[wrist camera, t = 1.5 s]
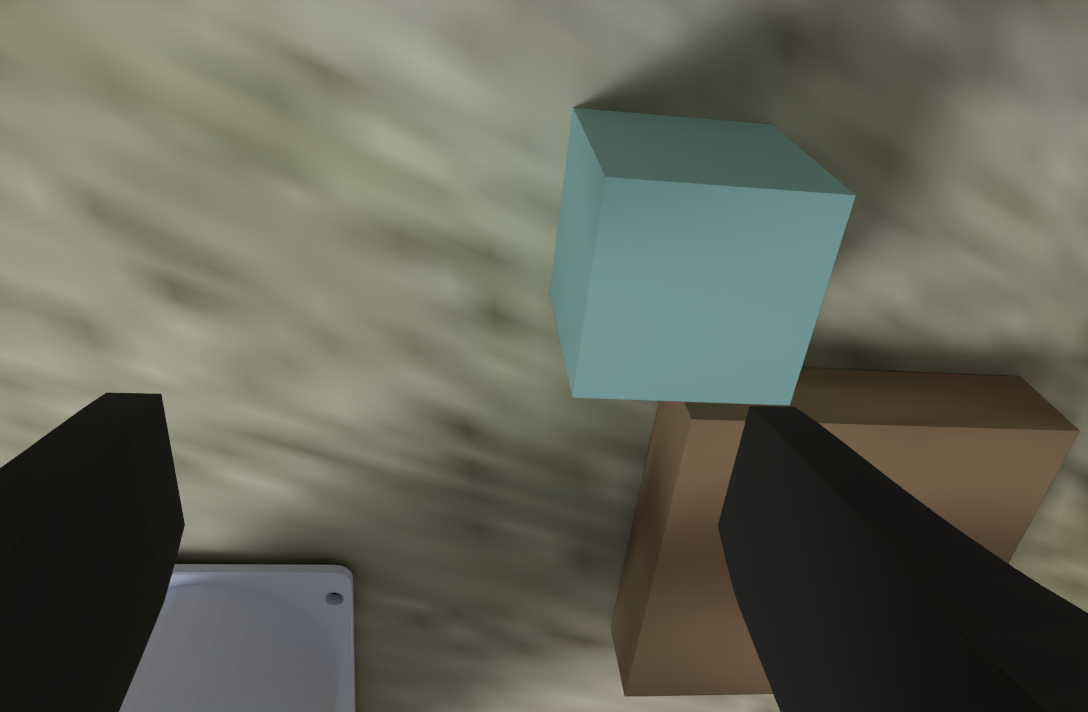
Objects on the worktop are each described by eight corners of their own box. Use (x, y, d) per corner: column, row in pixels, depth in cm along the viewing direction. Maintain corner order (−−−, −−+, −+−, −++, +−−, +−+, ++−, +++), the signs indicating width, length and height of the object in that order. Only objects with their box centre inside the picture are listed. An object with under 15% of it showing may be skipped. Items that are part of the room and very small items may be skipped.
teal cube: (727, 302, 21) (789, 405, 17) (549, 293, 20) (572, 397, 16) (771, 123, 18) (856, 195, 15) (572, 106, 18) (605, 177, 14)
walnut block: (901, 626, 28) (939, 691, 26) (610, 628, 26) (624, 696, 24) (1020, 376, 23) (1079, 430, 21) (667, 362, 21) (691, 419, 19)
